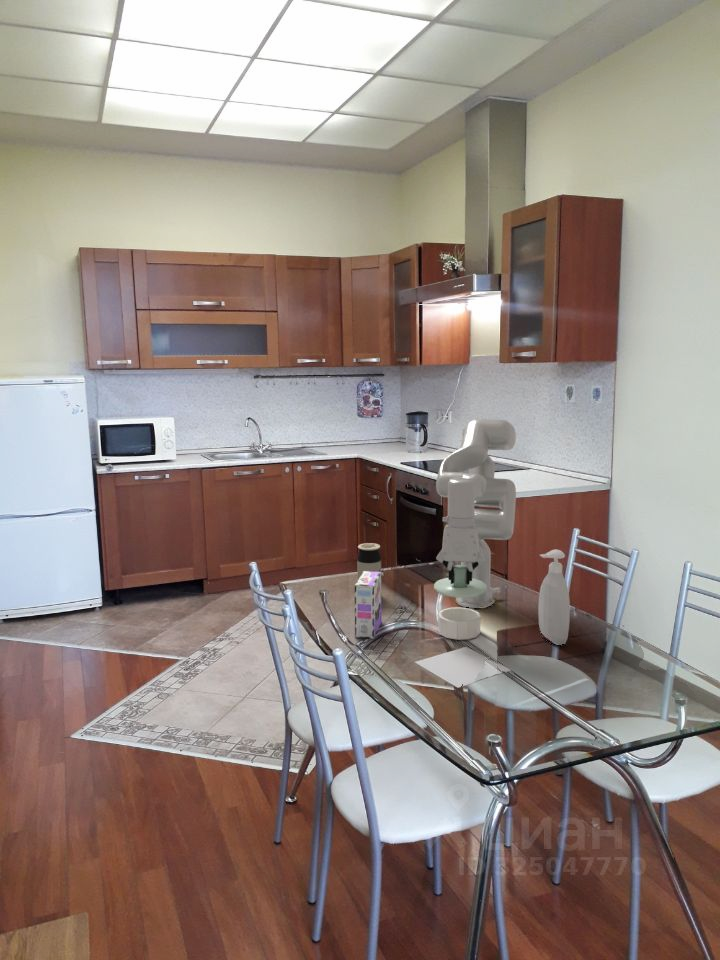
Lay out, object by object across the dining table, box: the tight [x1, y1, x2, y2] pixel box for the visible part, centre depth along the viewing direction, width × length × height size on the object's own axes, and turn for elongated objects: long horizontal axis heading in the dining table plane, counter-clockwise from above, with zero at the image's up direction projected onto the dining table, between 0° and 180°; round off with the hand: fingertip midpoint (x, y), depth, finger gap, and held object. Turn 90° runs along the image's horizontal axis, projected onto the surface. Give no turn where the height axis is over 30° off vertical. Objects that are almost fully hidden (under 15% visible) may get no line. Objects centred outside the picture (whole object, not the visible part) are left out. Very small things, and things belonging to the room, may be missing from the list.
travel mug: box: [356, 542, 382, 580], centre depth 249 cm, size 8×8×18 cm
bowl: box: [437, 606, 482, 641], centre depth 217 cm, size 12×12×6 cm
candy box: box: [354, 571, 383, 639], centre depth 220 cm, size 14×6×16 cm, turn 168°
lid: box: [433, 564, 487, 599], centre depth 212 cm, size 15×15×6 cm
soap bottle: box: [537, 548, 571, 646], centre depth 210 cm, size 14×8×27 cm, turn 14°
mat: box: [414, 646, 512, 689], centre depth 195 cm, size 18×18×1 cm
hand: (460, 582), depth 213 cm, fingers closed on lid, 4 cm apart
